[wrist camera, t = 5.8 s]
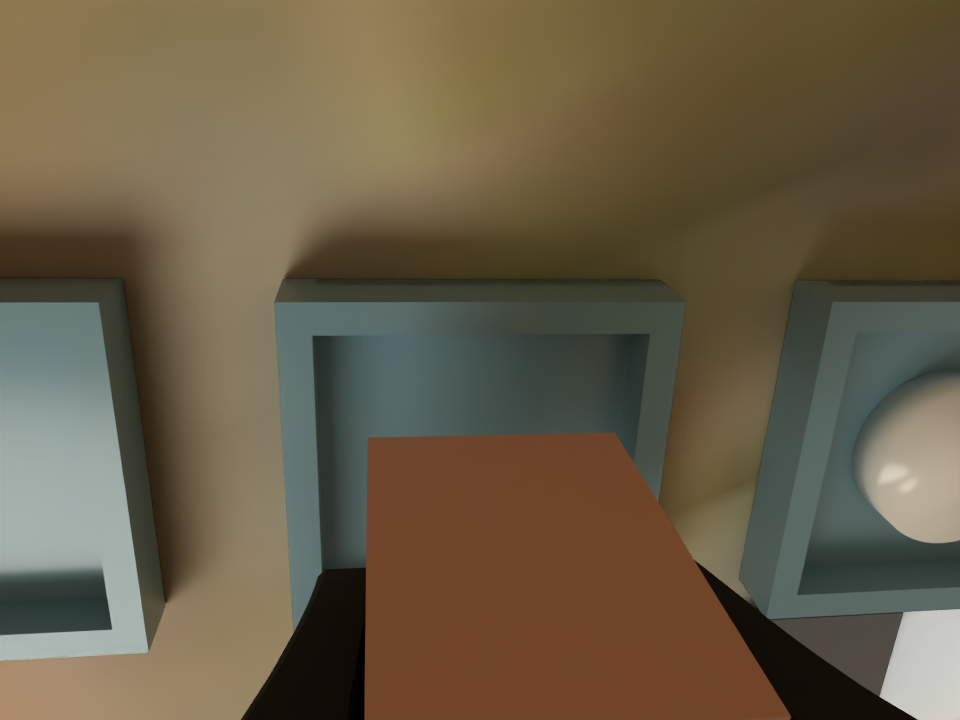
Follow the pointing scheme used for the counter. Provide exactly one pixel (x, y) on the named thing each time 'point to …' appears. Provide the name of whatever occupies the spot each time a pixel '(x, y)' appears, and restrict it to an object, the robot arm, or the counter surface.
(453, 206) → the counter surface
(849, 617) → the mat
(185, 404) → the counter surface
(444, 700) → the brown rectangular block
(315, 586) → the robot arm
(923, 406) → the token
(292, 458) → the dish
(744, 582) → the dish
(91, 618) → the dish
